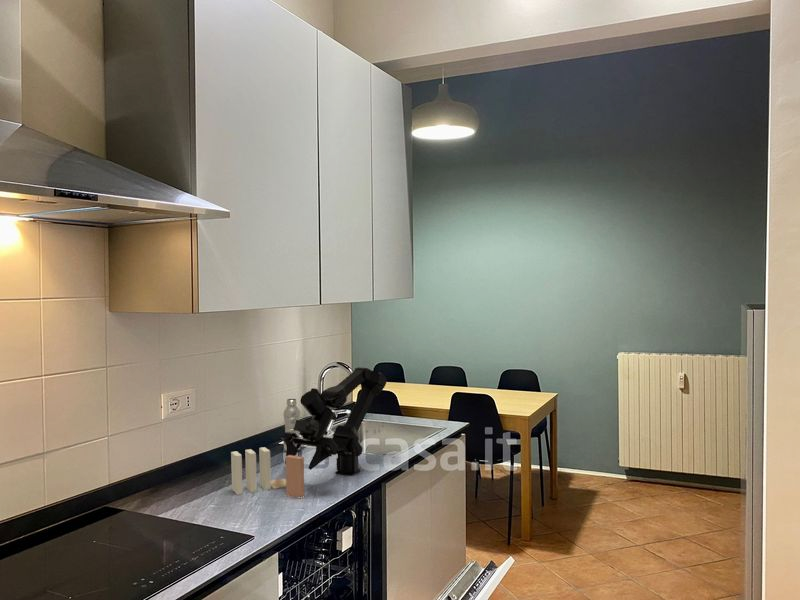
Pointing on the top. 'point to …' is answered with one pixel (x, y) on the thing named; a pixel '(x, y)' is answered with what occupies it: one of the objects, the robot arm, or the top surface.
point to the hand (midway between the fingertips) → (297, 466)
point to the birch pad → (278, 483)
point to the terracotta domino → (295, 476)
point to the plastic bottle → (291, 417)
